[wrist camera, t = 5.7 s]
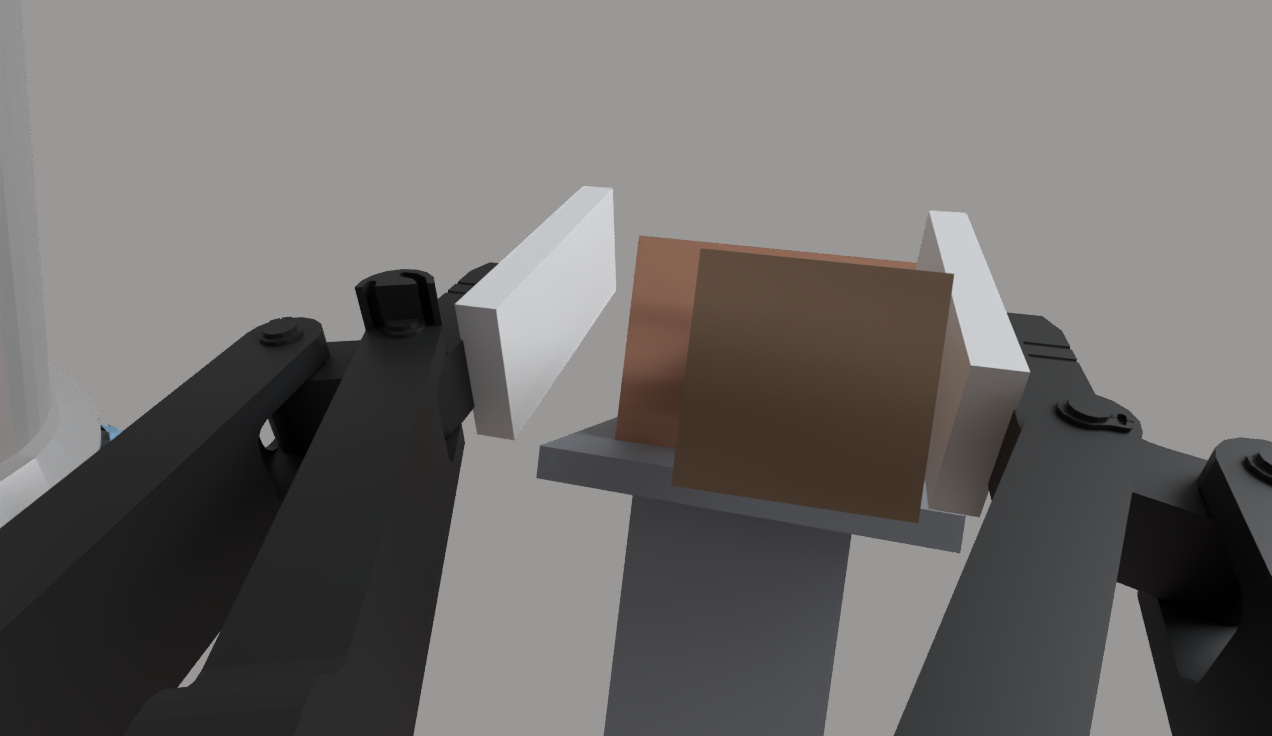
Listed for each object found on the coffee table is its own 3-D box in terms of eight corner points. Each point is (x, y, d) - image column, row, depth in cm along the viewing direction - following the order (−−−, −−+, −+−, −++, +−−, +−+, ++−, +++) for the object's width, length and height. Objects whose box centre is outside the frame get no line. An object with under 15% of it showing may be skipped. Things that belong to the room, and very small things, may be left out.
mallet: (1261, 829, 6) (1400, 44, 6) (349, 645, 7) (413, -4, 7) (851, 446, 29) (873, 282, 28) (643, 417, 30) (662, 260, 30)
